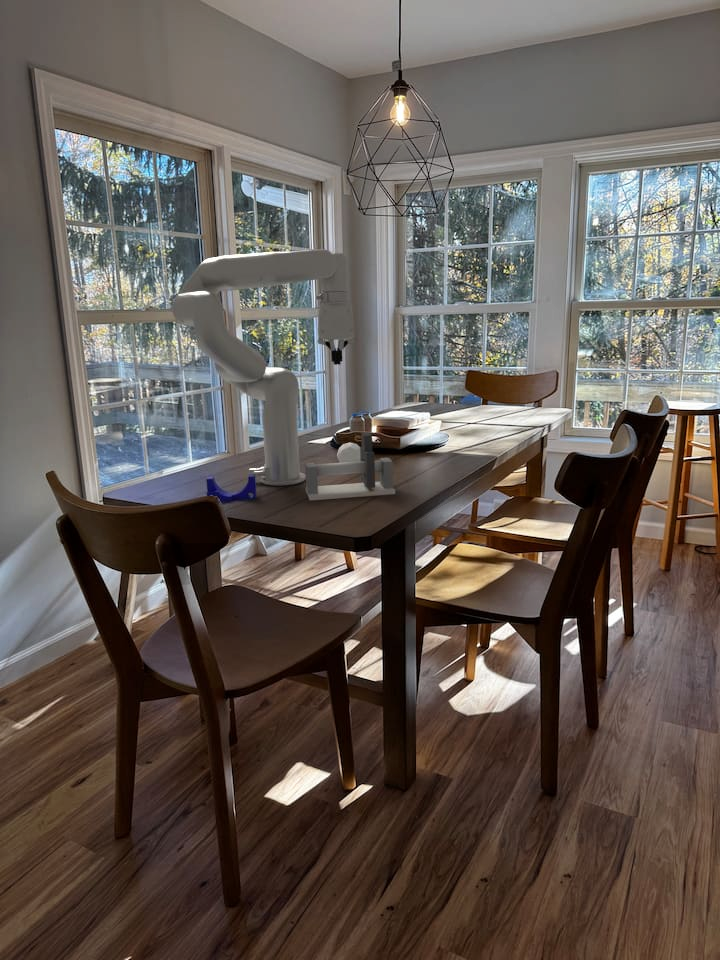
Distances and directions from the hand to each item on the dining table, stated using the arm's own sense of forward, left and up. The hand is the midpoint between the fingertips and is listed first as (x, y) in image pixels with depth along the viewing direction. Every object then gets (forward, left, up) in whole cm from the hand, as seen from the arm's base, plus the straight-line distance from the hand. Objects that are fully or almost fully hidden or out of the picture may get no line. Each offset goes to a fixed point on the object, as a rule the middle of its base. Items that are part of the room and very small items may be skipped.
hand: (337, 364), depth 194 cm
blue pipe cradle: (-32, -26, -32) cm, 52 cm away
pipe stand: (-2, -28, -31) cm, 42 cm away
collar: (+3, -28, -29) cm, 40 cm away
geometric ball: (+3, +1, -31) cm, 31 cm away
